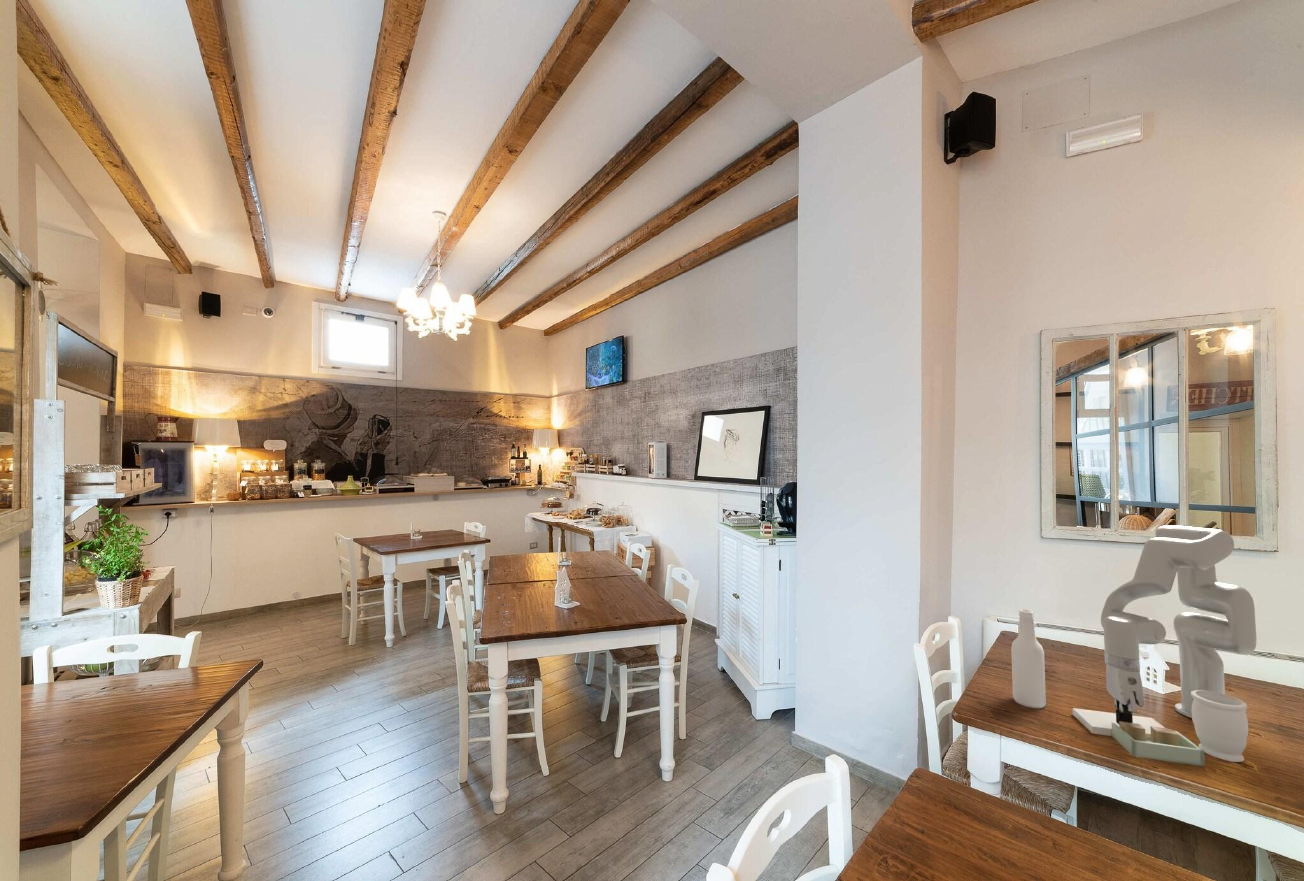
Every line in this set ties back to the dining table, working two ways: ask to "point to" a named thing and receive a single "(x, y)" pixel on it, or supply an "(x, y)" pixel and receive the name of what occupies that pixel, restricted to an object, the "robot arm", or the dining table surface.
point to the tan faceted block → (1164, 736)
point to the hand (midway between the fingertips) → (1124, 725)
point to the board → (1110, 721)
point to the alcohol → (1028, 664)
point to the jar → (1220, 724)
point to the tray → (1161, 748)
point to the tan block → (1133, 730)
